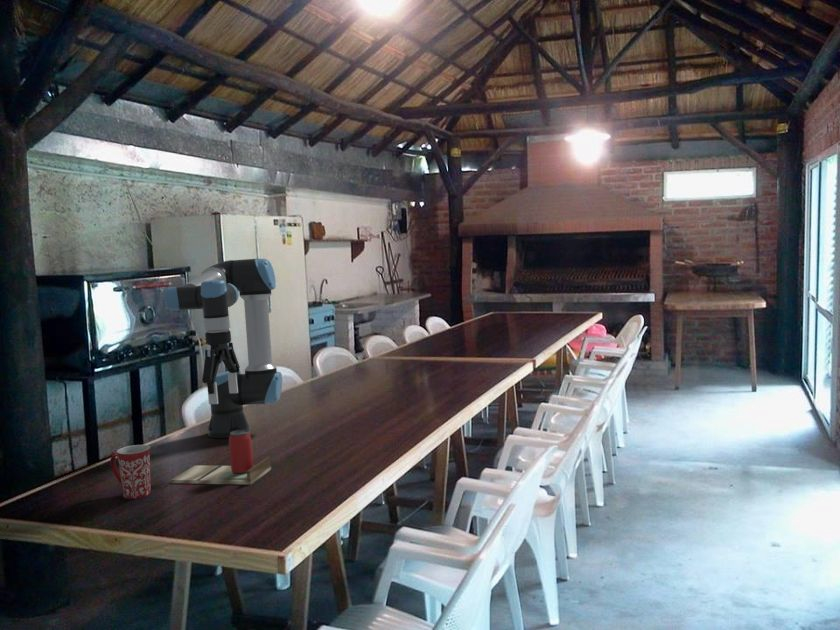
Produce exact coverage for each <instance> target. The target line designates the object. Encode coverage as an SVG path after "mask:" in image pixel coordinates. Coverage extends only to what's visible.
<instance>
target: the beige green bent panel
mask: <svg viewBox="0 0 840 630" xmlns="http://www.w3.org/2000/svg"><path fill="white" fill-rule="evenodd" d="M253 465H254V464H253ZM271 470H272V464H271V456H266V457H265V458H264V459H262V460H260V461H259V462H258V463H256V464H255V465H254V466H253V467H252V468H251V469H249V470H248V471H247V473H244V474H235V473H233V472H232V471H231V465H222V464H221V465H200V464H199V465H196V464H195V465H193V466H191V467H190V468H188V469H187V470H185V471H182V472H181V473H180V474H178V475H176V476H175V477H173V478H171V479H170V484H193V485H194V484H196V485H197V484H198V485H200V484H202V485H203V484H205V485H245V486H246V485H247V486H248V485H250V486H251V485H252V484H254V483H255V482H256V481H258V480H259V479H261V478H262V477H264V476H265V475H266V474H267V473H268V472H270V471H271Z"/></svg>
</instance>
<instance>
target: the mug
mask: <svg viewBox="0 0 840 630" xmlns="http://www.w3.org/2000/svg"><path fill="white" fill-rule="evenodd" d="M150 450H151V446H150V445H147V444H136V445H135V444H133V445H127V446H125V447H122V448H119V449H117V450H116V453H114V454H112V456H111V457H110V459H109V461H110V467H111V471H112V473H113V475H114V476H115V478H116V479H117V481H118V482H119V484H121V487H122V495H123V498H125V499H127V500H137V499H142V498H145V497H147V496H149V495H150V494H151V493H152V491H151V490H152V489H151V487H152V486H151V460H150V458H151V457H150V456H151V455H150V454H151V453H150ZM116 458H117V460H118V465H119V469H118V467H117V464H116Z"/></svg>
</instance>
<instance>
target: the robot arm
mask: <svg viewBox="0 0 840 630" xmlns="http://www.w3.org/2000/svg"><path fill="white" fill-rule="evenodd" d="M276 283H277V281H276V275H275V271H274V268H273V266H272V263H271V262H270V260H268V259H266V258H249V259H247V258H246V259H234V260H233V259H232V260H231V259H229V260H224V261H221V262H218V263H216V264H213V265H211V266H208V267H207V268H205V269H204V270H203V271H202V272H201V274H200V275H199V276H197V277H195V278H194V279H191V280H190V281H188V282H187V283H185V284H184V285H181V286H170V287H166V289H165V291H164V294H163V295H164V297H163V301H164V304H165V307H166V308H167V310H169V311H178V312H180V311H191V310H202V314H203V324H204V331H205V333H204V337H205V344H207V345H209V346H210V349H205V350H204V355H205V356H204V365H203V373H202V383H203V384H206V385H207V387H206V388H207V394H208V395H207V397H208V405H210V412H211V414H210V415H211V416H210V418H209V423H208V424H209V425H208V428H207V435H208V437H210V438H212V439H227V438H228V439H229V437H230V433H231V432H233V431H237V430H248V431H249V432H250V429H251V428H250V424H249V421H248V419H247V416H246V415H245V412H244V406H250V405H252V406H254V405H265V406H266V405H270V404H276V403H277V402H278V401H279V400H280V398H281V396H282V395H281V394H282V388H283V375H282V372H281V371H278V369H277V366H276V364H274V363H273V356H272V345H271V330H270V312H269V301H268V300H269V298H270V297H271V296H272V291H273V290H275V289H276ZM239 297H240V298H241V299H242V300H243V305H244V319H245V331H246V346H247V349H246V350H247V359H248V360H247V361H248V362H247V363H248V365H247V366H246V367H245V368H244V373H241V371H240V363H239V361H238V358H237V354H236V353H235V349H234V344H233V342H232V334H231V333H232V332H231V330H229V329H230V328H231V323H230V313H229V308H230V307H232V306H234V305H235V304H236V303H237V302H238V300H239ZM222 363H223V364H224V365H225V367H226V369H227V370H226V371H223V372H219V373H218V370H219V366H220V364H222Z"/></svg>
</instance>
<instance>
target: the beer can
mask: <svg viewBox="0 0 840 630" xmlns="http://www.w3.org/2000/svg"><path fill="white" fill-rule="evenodd" d="M252 444H253V442H252V436H251V433H250V431H248V430H237V431H233V432H231V433H230V437H229V438H228V447H229V459H230V466H231V471H232V472H233V473H235V474H244V473H247V471H248V470H249V469H251V468H252V467H253V466H254V455H253V454H254V453H253V445H252Z"/></svg>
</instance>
